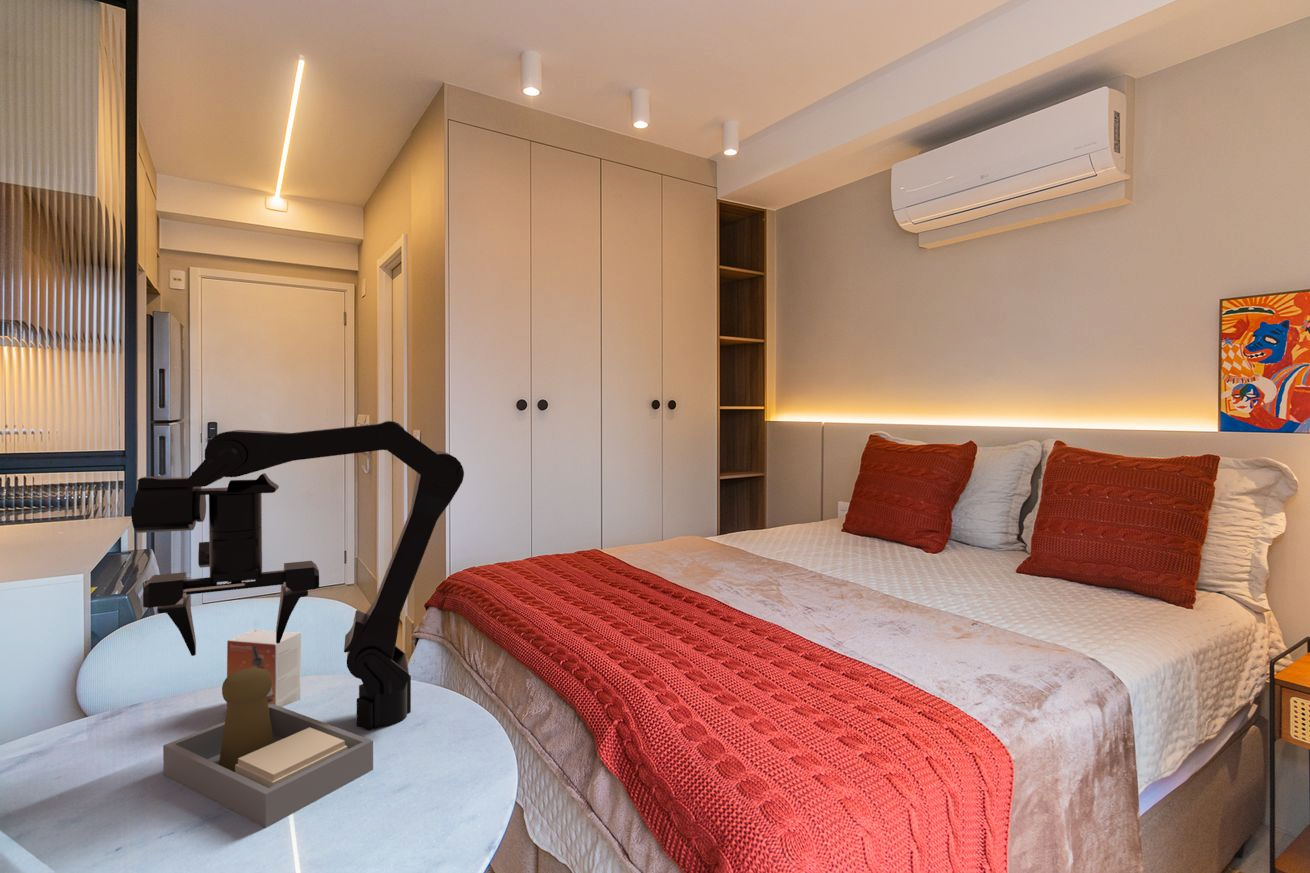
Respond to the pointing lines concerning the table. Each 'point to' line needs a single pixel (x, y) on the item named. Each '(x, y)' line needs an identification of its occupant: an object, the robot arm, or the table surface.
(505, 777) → the table surface
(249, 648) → the small box
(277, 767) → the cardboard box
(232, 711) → the cork
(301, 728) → the tray
